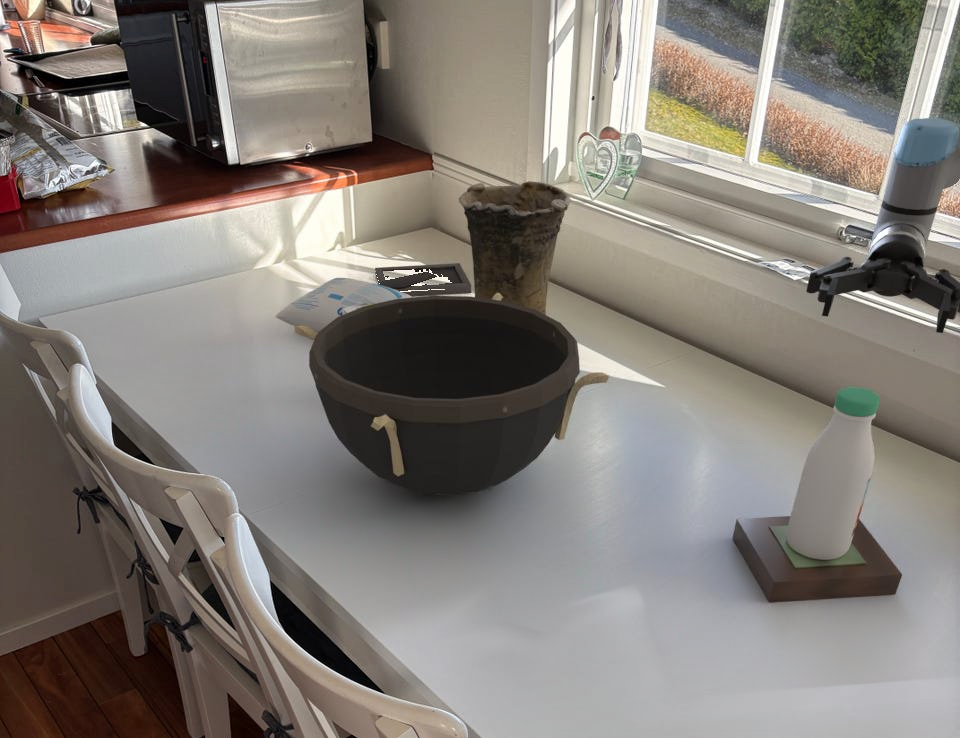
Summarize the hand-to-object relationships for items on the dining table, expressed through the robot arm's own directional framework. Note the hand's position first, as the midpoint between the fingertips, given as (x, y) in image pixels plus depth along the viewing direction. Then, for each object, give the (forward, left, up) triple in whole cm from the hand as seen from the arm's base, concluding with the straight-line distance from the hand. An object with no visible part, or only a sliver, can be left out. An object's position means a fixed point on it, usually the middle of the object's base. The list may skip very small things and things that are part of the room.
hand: (884, 313), depth 117 cm
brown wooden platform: (+10, +16, -26) cm, 32 cm away
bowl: (+54, -10, -26) cm, 60 cm away
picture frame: (+52, -89, -26) cm, 106 cm away
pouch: (+67, -66, -26) cm, 97 cm away
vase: (+39, -54, -26) cm, 71 cm away
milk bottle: (+10, +16, -23) cm, 30 cm away
